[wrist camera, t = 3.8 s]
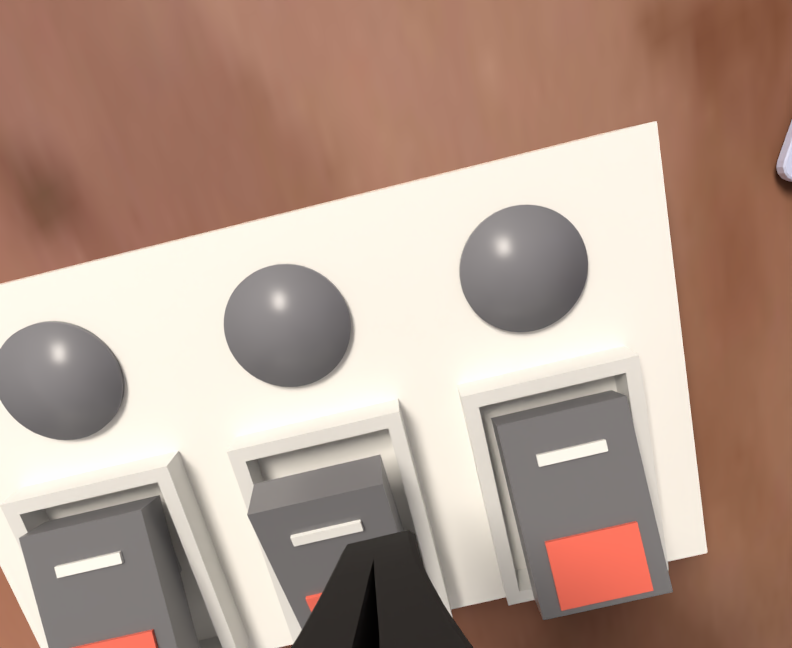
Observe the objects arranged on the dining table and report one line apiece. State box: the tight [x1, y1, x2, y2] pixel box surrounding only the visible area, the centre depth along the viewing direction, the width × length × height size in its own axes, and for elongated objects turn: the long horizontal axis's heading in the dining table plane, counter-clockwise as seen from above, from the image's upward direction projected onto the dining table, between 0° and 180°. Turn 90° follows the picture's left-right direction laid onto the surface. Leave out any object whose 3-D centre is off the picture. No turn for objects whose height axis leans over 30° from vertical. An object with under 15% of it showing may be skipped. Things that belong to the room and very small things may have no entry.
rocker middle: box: [247, 455, 404, 629], centre depth 15 cm, size 3×5×1 cm, turn 14°
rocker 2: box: [491, 390, 673, 620], centre depth 15 cm, size 3×5×1 cm, turn 14°
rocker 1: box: [19, 495, 200, 648], centre depth 15 cm, size 3×5×1 cm, turn 14°
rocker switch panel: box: [0, 121, 707, 648], centre depth 17 cm, size 21×13×4 cm, turn 104°
